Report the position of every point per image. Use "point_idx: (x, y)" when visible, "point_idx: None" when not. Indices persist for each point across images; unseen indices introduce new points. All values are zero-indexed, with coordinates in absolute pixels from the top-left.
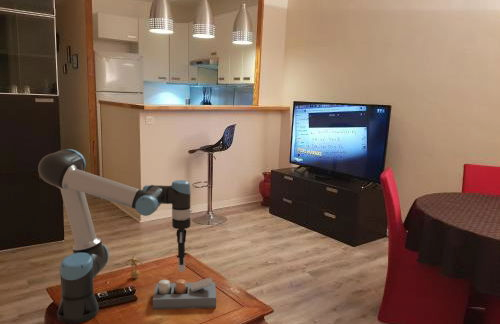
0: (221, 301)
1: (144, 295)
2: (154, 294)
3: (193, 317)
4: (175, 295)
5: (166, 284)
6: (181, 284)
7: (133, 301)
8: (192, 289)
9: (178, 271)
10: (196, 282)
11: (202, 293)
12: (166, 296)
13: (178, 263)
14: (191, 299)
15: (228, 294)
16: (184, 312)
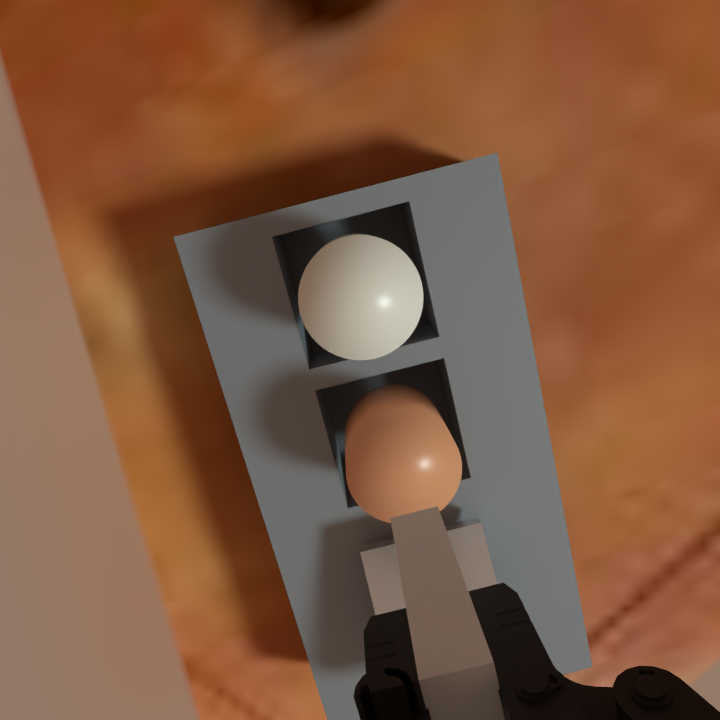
0: None
1: (409, 69)
2: (271, 217)
3: (175, 557)
4: (296, 417)
5: (316, 341)
6: (352, 492)
7: (288, 5)
8: (364, 566)
9: (390, 519)
10: (478, 581)
11: None
12: (259, 344)
13: (404, 591)
14: (278, 554)
15: None
16: (222, 482)
